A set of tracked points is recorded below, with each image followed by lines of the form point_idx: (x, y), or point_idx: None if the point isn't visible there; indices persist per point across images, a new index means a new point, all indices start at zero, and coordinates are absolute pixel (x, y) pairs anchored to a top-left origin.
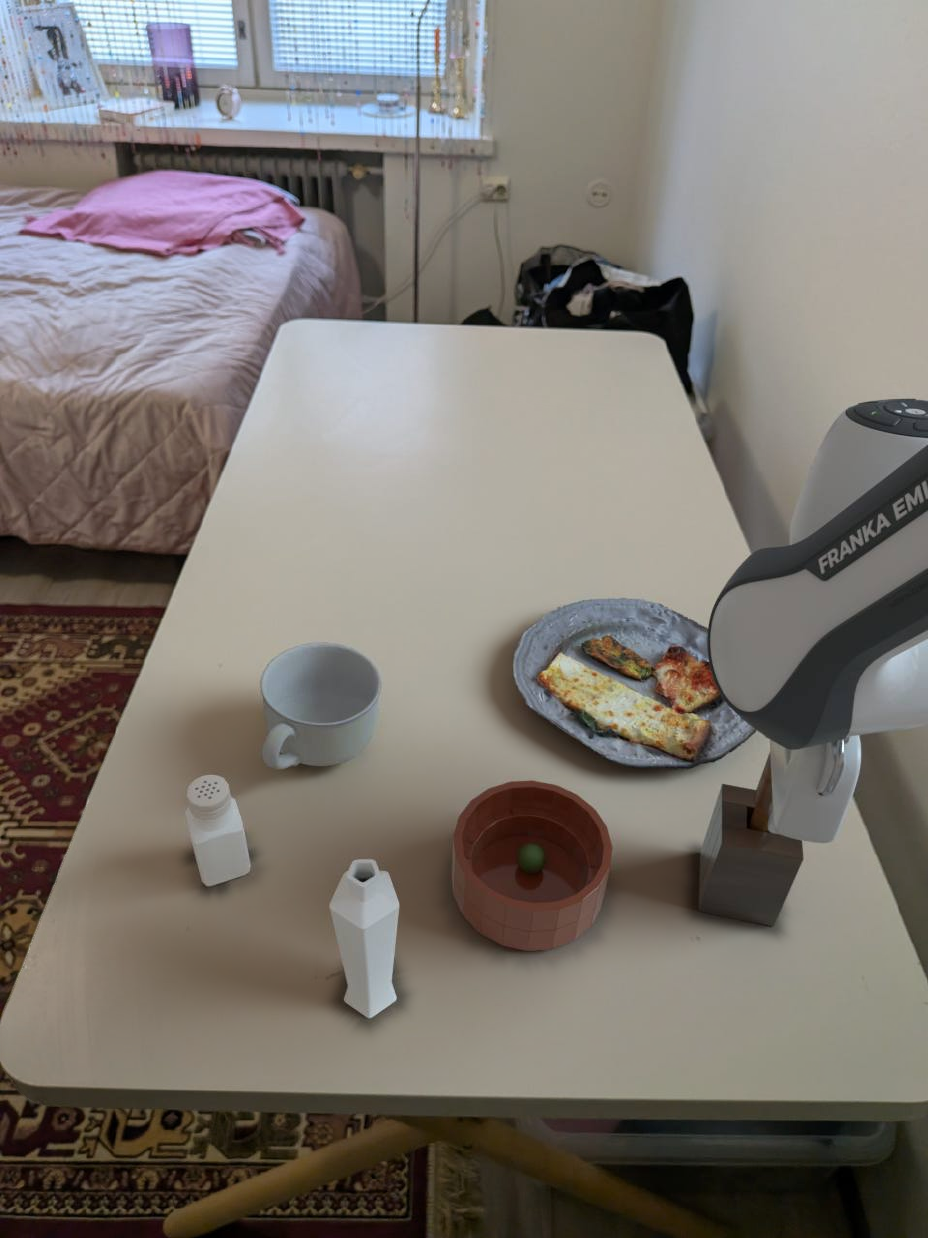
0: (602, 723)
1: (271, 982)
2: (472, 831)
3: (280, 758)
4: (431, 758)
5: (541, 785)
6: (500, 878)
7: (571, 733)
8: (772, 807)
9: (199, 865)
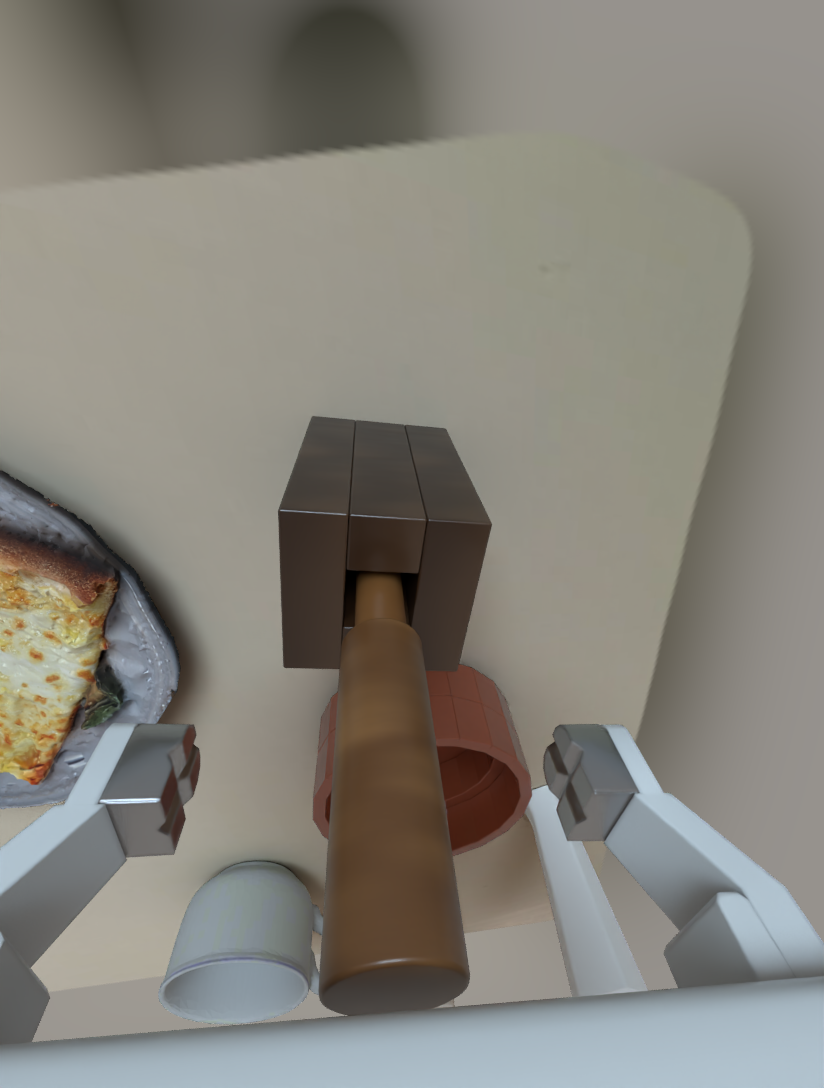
0: (84, 685)
1: (531, 843)
2: None
3: None
4: (245, 811)
5: (319, 811)
6: None
7: None
8: (596, 840)
9: None
